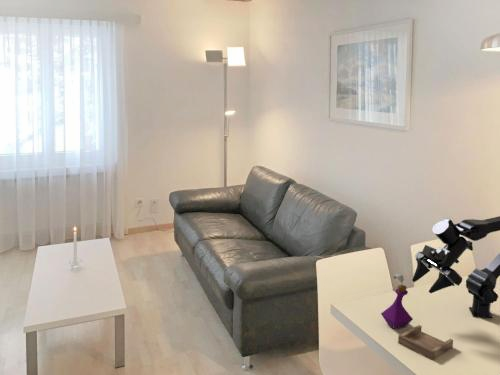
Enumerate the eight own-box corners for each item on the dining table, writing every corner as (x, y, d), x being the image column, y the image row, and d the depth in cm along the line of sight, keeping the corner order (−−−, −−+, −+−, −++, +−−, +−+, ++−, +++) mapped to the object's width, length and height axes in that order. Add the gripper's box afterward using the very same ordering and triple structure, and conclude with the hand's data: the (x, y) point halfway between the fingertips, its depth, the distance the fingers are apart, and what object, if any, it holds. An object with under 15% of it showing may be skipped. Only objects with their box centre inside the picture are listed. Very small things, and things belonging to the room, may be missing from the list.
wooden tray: (418, 331, 160) (418, 324, 160) (452, 347, 151) (453, 340, 150) (398, 343, 154) (398, 335, 153) (432, 359, 144) (433, 352, 144)
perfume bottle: (412, 328, 163) (416, 277, 159) (394, 332, 160) (397, 281, 156) (398, 318, 169) (401, 269, 165) (380, 322, 167) (382, 273, 163)
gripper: (421, 229, 169) (391, 262, 169) (457, 246, 152) (424, 284, 151) (439, 247, 173) (410, 281, 173) (476, 267, 155) (444, 304, 155)
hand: (421, 286), depth 163 cm, fingers open, 9 cm apart
